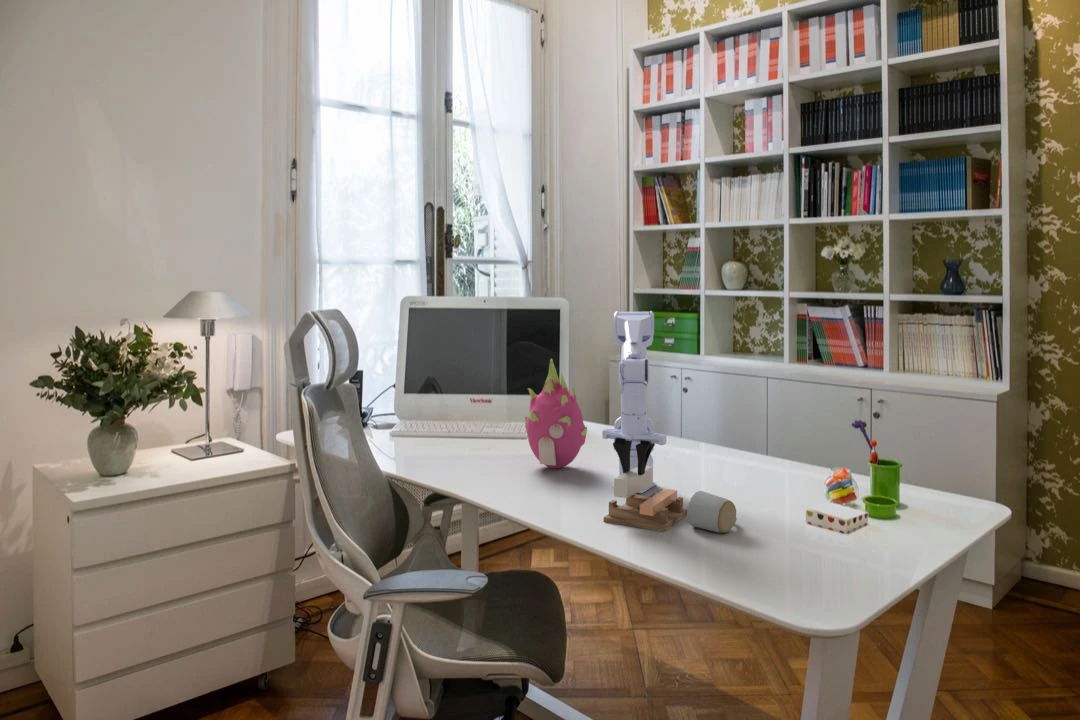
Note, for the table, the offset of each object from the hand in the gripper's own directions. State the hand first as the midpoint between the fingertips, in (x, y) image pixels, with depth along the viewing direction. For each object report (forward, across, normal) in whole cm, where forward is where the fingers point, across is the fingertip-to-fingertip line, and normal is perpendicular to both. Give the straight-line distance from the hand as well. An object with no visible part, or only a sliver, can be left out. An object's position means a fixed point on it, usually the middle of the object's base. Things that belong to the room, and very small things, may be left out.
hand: (633, 473), depth 180 cm
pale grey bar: (+4, 0, 0) cm, 4 cm away
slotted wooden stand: (+10, +3, 0) cm, 10 cm away
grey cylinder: (+10, +18, +1) cm, 21 cm away
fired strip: (+7, +6, 0) cm, 9 cm away
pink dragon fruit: (+10, -36, +28) cm, 47 cm away
